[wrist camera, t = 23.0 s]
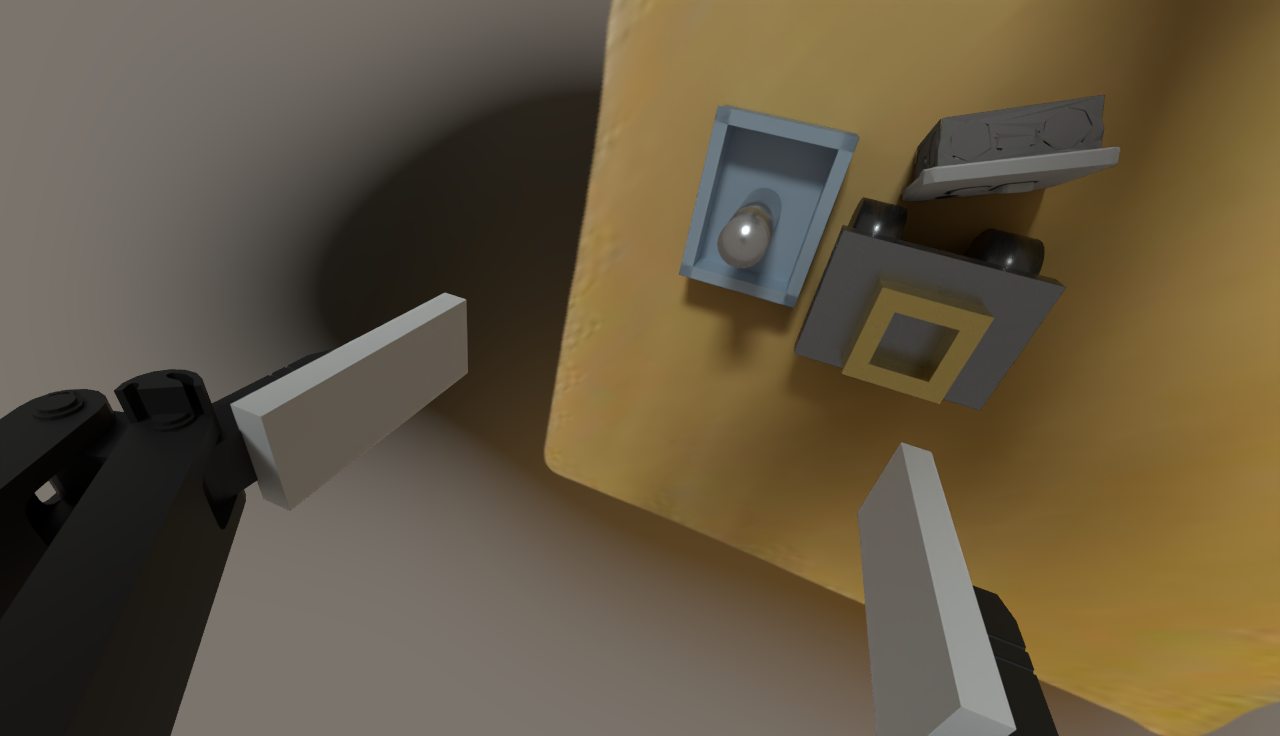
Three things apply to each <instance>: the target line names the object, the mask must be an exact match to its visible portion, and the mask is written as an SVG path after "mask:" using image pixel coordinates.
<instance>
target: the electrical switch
mask: <svg viewBox="0 0 1280 736" xmlns="http://www.w3.org/2000/svg"><path fill="white" fill-rule="evenodd" d="M1104 98H1105V95H1100V96H1093V97H1086V98H1079V99H1072V100H1065V101H1058V102H1051V103H1044V104H1037V105H1030V106H1023V107H1016V108H1009V109H1002V110H995V111H988V112H981V113H974V114H967V115H960V116H953V117H946V118H942V126H941V119H940V120H939V121H938V123H937V124H936V125H935V126H934V128H933V129H932V130H931V131H930V132H929V134H928V135H927V136H926V137H925V139H924V140H923V141H922V142H921V143H920V145H919V146H918V147H917V164H916V165H914V166H915V181H914V182H913V183H912V184H911V185H909V186H908V188H903V189H902V200H903V201H923V200H933V199H944V198H954V197H965V196H975V195H986V194H996V193H1004V194H1007V193H1020V192H1029V191H1033V190H1038V189H1043V188H1048V187H1052V186H1056V185H1059V184H1062V183H1065V182H1068V181H1071V180H1074V179H1077V178H1080V177H1083V176H1086V175H1089V174H1091V173H1094V172H1097V171H1100V170H1103V169H1106V168H1109V167H1112V166H1114V165H1117V163H1118V158H1119V153H1120V148H1119V146H1118V147H1109V148H1102V137H1103V132H1104V126H1103V122H1102V115H1103V106H1104ZM1066 107H1069V108H1066ZM1072 108H1073V109H1072ZM963 122H965V123H963ZM1045 122H1046V123H1045ZM1044 123H1045V126H1044ZM1036 128H1037V131H1036ZM940 131H941V139H940ZM1035 131H1036V133H1035ZM996 134H997V135H998V137H997V138H996Z"/></svg>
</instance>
